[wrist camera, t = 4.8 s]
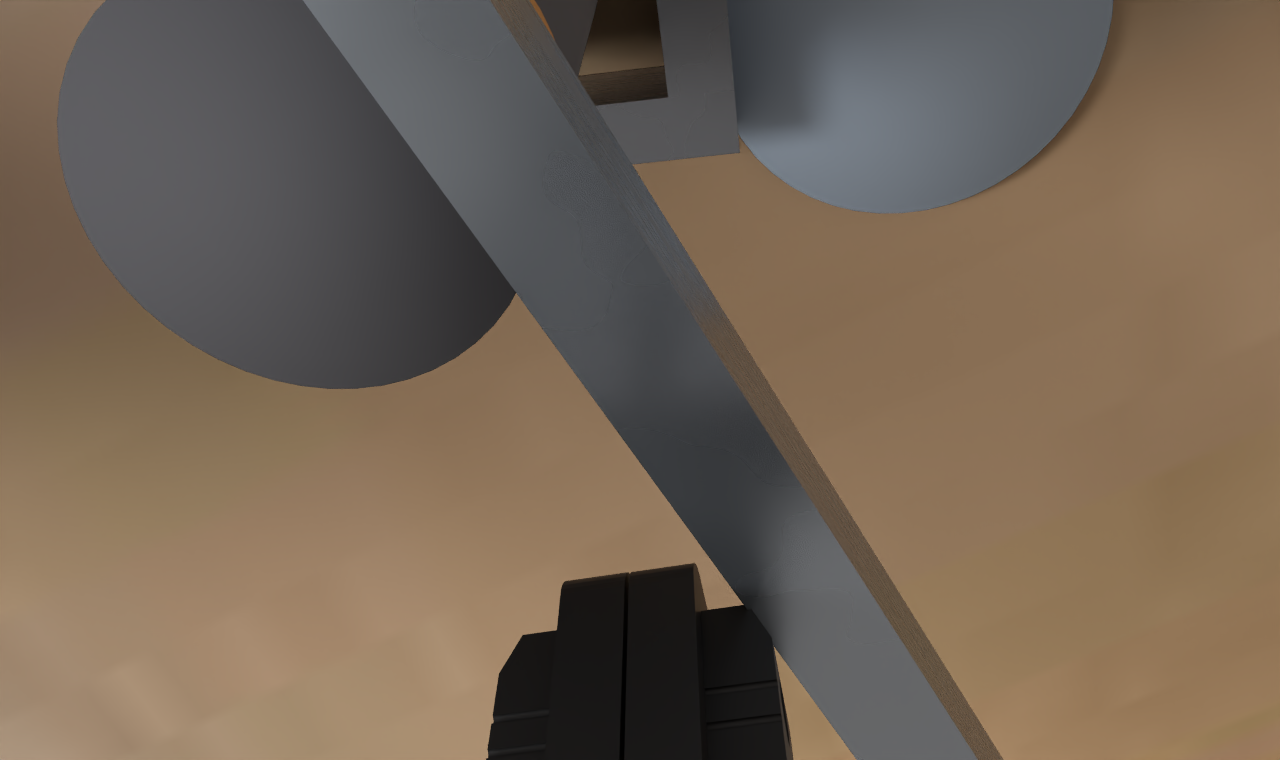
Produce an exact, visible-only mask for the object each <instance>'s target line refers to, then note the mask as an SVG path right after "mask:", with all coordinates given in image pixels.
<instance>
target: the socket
mask: <svg viewBox="0 0 1280 760" xmlns="http://www.w3.org/2000/svg"><path fill="white" fill-rule="evenodd" d="M657 8H658V16H659V25H660V33H661V41H662V50H663V58H664V66H662V67H654V68H645V69H636V70H628V71H619V72H611V73H602V74H594V75H585V76H578V79H579V80H580V82H581V84H582V85H583V87H584V88H585V90H586V92H587V93H588V95H589V96H590V98H591V100H592V101H593V103H594V104H595V106H596V108H597V109H598V111H599V113H600V114H601V116H602V117H603V119H604V121H605V122H606V124H607V125H608V127H609V129H610V130H611V132H612V133H613V135H614V137H615V138H616V140H617V141H618V143H619V145H620V146H621V148H622V149H623V151H624V153H625V154H626V156H627V157H628V159H629V161H630V162H631V164H639V163H649V162H658V161H667V160H676V159H686V158H695V157H704V156H714V155H723V154H732V153H740V150H739V138H738V126H737V115H736V103H735V91H734V80H733V68H732V57H731V45H730V33H729V22H728V10H727V0H657Z"/></svg>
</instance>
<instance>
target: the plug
mask: <svg viewBox="0 0 1280 760" xmlns="http://www.w3.org/2000/svg"><path fill="white" fill-rule="evenodd" d="M530 2H531V4H532V5H533V7H534V8H535V10H536V12H537V13H538V15H539V16H540V18H541V20H542V21H543V23H544V24H545V26H546V28H547V29H548V31H549V32H550V34H551V36H552V37H553V39H554V40H555V42H556V44H557V45H558V47H559V48H560V50H561V52H562V53H563V55H564V56H565V58H566V60H567V61H568V63H569V64H570V66H571V68H572V69H573V71H574V72H575V74H576V76H577V77H578V74H579V71H580V67H581V63H582V59H583V55H584V52H585V48H586V44H587V40H588V36H589V32H590V29H591V25H592V21H593V17H594V13H595V10H596V6H597V2H598V0H530ZM57 128H58V144H59V154H60V159H61V164H62V169H63V174H64V179H65V183H66V186H67V189H68V192H69V194H70V197H71V200H72V203H73V206H74V209H75V211H76V213H77V215H78V218H79V220H80V222H81V224H82V226H83V228H84V230H85V232H86V234H87V236H88V238H89V240H90V241H91V243H92V244H93V246H94V248H95V249H96V251H97V252H98V254H99V256H100V257H101V259H102V260H103V262H104V263H105V265H106V266H107V267H108V268H109V270H110V271H111V272H112V273H113V275H114V276H115V277H116V279H117V280H118V281H119V282H120V284H121V285H122V286H123V287H124V288H125V289H126V290H127V291H128V292H129V293H130V294H131V295H132V296H133V298H134V299H135V300H136V301H137V302H138V303H139V304H140V305H141V306H142V307H143V308H144V309H145V310H147V311H148V312H149V313H150V314H151V315H153V316H154V317H155V318H156V319H157V320H158V321H160V322H161V323H162V324H163V325H164V326H166V327H167V328H168V329H170V330H171V331H172V332H174V333H175V334H177V335H178V336H180V337H181V338H183V339H184V340H186V341H187V342H188V343H190V344H191V345H193V346H195V347H197V348H198V349H200V350H202V351H204V352H206V353H208V354H209V355H211V356H213V357H215V358H217V359H218V360H221V361H223V362H225V363H228V364H230V365H232V366H235V367H237V368H239V369H242V370H244V371H246V372H250V373H253V374H256V375H259V376H262V377H265V378H268V379H272V380H276V381H280V382H285V383H290V384H295V385H299V386H307V387H317V388H327V389H357V388H366V387H374V386H382V385H387V384H391V383H395V382H399V381H403V380H408V379H411V378H413V377H416V376H419V375H421V374H424V373H426V372H429V371H432V370H434V369H436V368H438V367H439V366H441V365H443V364H445V363H447V362H449V361H451V360H452V359H454V358H456V357H457V356H459V355H460V354H461V353H463V352H464V351H466V350H467V349H468V348H470V347H471V346H472V345H474V344H475V343H476V342H477V341H478V340H479V339H480V338H481V337H482V336H483V335H484V334H486V333H487V332H488V331H489V330H490V329H491V328H492V327H493V326H494V324H495V323H496V322H497V321H498V319H499V318H500V317H501V315H502V314H503V313H504V311H505V310H506V309H507V307H508V306H509V305H510V303H511V301H512V299H513V297H514V295H515V294H516V292H515V290H514V289H513V288H512V286H511V285H510V284H509V282H508V281H507V279H506V278H505V277H504V275H503V274H502V273H501V271H500V270H499V268H498V267H497V266H496V264H495V263H494V262H493V260H492V259H491V258H490V256H489V255H488V253H487V252H486V251H485V249H484V248H483V247H482V245H481V244H480V242H479V241H478V240H477V238H476V237H475V236H474V234H473V233H472V231H471V230H470V229H469V227H468V226H467V225H466V223H465V222H464V220H463V219H462V218H461V216H460V215H459V214H458V212H457V211H456V210H455V208H454V207H453V205H452V204H451V203H450V201H449V200H448V199H447V197H446V196H445V194H444V193H443V192H442V190H441V189H440V188H439V186H438V185H437V183H436V182H435V181H434V179H433V178H432V177H431V175H430V174H429V173H428V171H427V170H426V168H425V167H424V166H423V164H422V163H421V162H420V160H419V159H418V157H417V156H416V155H415V153H414V152H413V151H412V149H411V148H410V146H409V145H408V144H407V142H406V141H405V140H404V138H403V137H402V135H401V134H400V133H399V131H398V130H397V129H396V127H395V126H394V125H393V123H392V122H391V120H390V119H389V118H388V116H387V115H386V114H385V112H384V111H383V109H382V108H381V107H380V105H379V104H378V103H377V101H376V100H375V98H374V97H373V96H372V94H371V93H370V92H369V90H368V89H367V87H366V86H365V85H364V83H363V82H362V81H361V79H360V78H359V77H358V75H357V74H356V72H355V71H354V70H353V68H352V67H351V66H350V64H349V63H348V61H347V60H346V59H345V57H344V56H343V55H342V53H341V52H340V50H339V49H338V48H337V46H336V45H335V44H334V42H333V41H332V40H331V38H330V37H329V35H328V34H327V33H326V31H325V30H324V29H323V27H322V26H321V24H320V23H319V22H318V20H317V19H316V18H315V16H314V15H313V13H312V12H311V11H310V9H309V8H308V7H307V5H306V4H305V2H304V1H303V0H106V1H105V2H104V3H103V4H102V5H101V6H100V7H99V8H98V10H97V11H96V12H95V13H94V14H93V16H92V17H91V19H90V20H89V22H88V23H87V25H86V26H85V28H84V29H83V31H82V33H81V34H80V36H79V37H78V39H77V41H76V44H75V46H74V48H73V51H72V53H71V55H70V58H69V60H68V62H67V65H66V69H65V73H64V77H63V81H62V85H61V89H60V94H59V106H58V118H57Z"/></svg>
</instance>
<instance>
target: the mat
mask: <svg viewBox="0 0 1280 760" xmlns="http://www.w3.org/2000/svg"><path fill="white" fill-rule="evenodd" d="M727 10H728V22H729V33H730V45H731V57H732V68H733V80H734V91H735V103H736V115H737V126H738V134H739V135H740V137H741V139H742V140H743V141H744V143H745V144H746V145H747V146H748V148H749V149H750V150H751V152H752V153H753V154H754V155H755V157H756V158H757V159H758V160H759V161H760V162H761V163H763V164H764V165H765V166H766V167H767V168H768V169H769V170H770V171H771V172H772V173H773V174H774V175H776V176H777V177H779V178H780V179H781V180H783V181H784V182H786V183H787V184H788V185H790V186H791V187H793V188H795V189H797V190H799V191H800V192H802V193H804V194H806V195H808V196H810V197H812V198H814V199H817V200H820V201H822V202H825V203H828V204H830V205H833V206H837V207H841V208H846V209H850V210H854V211H862V212H871V213H907V212H914V211H922V210H928V209H932V208H936V207H940V206H944V205H948V204H952V203H954V202H957V201H960V200H962V199H965V198H968V197H971V196H973V195H975V194H977V193H979V192H981V191H983V190H985V189H987V188H989V187H991V186H993V185H995V184H997V183H998V182H1000V181H1002V180H1003V179H1005V178H1006V177H1008V176H1009V175H1011V174H1012V173H1014V172H1016V171H1017V170H1018V169H1020V168H1021V167H1022V166H1023V165H1025V164H1026V163H1027V162H1028V161H1030V160H1031V159H1032V158H1033V157H1034V156H1036V155H1037V154H1038V153H1039V152H1040V151H1041V150H1042V149H1043V148H1044V147H1045V146H1046V145H1047V144H1048V143H1049V142H1050V141H1051V140H1052V139H1053V138H1054V137H1055V136H1056V135H1057V134H1058V132H1059V131H1060V130H1061V129H1062V127H1063V126H1064V125H1065V123H1066V122H1067V121H1068V120H1069V118H1070V117H1071V116H1072V115H1073V113H1074V112H1075V110H1076V108H1077V107H1078V105H1079V103H1080V102H1081V100H1082V99H1083V97H1084V95H1085V94H1086V92H1087V90H1088V88H1089V86H1090V84H1091V82H1092V80H1093V78H1094V76H1095V73H1096V71H1097V69H1098V67H1099V64H1100V61H1101V58H1102V55H1103V52H1104V49H1105V46H1106V43H1107V39H1108V34H1109V29H1110V24H1111V19H1112V10H1113V0H727Z"/></svg>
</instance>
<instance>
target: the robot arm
mask: <svg viewBox="0 0 1280 760" xmlns="http://www.w3.org/2000/svg"><path fill="white" fill-rule="evenodd" d="M493 719H494V723H493V724H491V730H490V737H489V744H488V758H486V760H793V753H792V745H791V737H790V729H789V724H788V719H787V714H786V709H785V703H784V698H783V693H782V688H781V682H780V677H779V672H778V667H777V662H776V656H775V651H774V646H773V641H772V637H771V636H770V634H769V633H768V631H767V630H766V629H765V627H764V626H763V624H762V623H761V622H760V620H759V619H758V617H757V616H756V615H755V613H754V612H753V610H752V609H747V608H746V607H745V606H744V605H740V606H733V607H726V608H719V609H711V610H707V606H706V602H705V597H704V593H703V589H702V584H701V580H700V576H699V572H698V568H697V566H696V564H695V563H692V564H685V565H678V566H671V567H664V568H657V569H650V570H643V571H636V572H631V573H630V574H629V573H628V572H627V573H620V574H613V575H606V576H599V577H592V578H585V579H578V580H571V581H565V582H564V583H563V585H562V589H561V595H560V606H559V616H558V626H557V630H556V631H549V632H542V633H534V634H527V635H523V636H522V637H521V639H520V641H519V642H518V644H517V645H516V647H515V649H514V650H513V652H512V654H511V655H510V657H509V658H508V660H507V662H506V663H505V665H504V667H503V668H502V670H501V672H500V673H499V678H498V684H497V691H496V697H495V704H494V711H493Z"/></svg>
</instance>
